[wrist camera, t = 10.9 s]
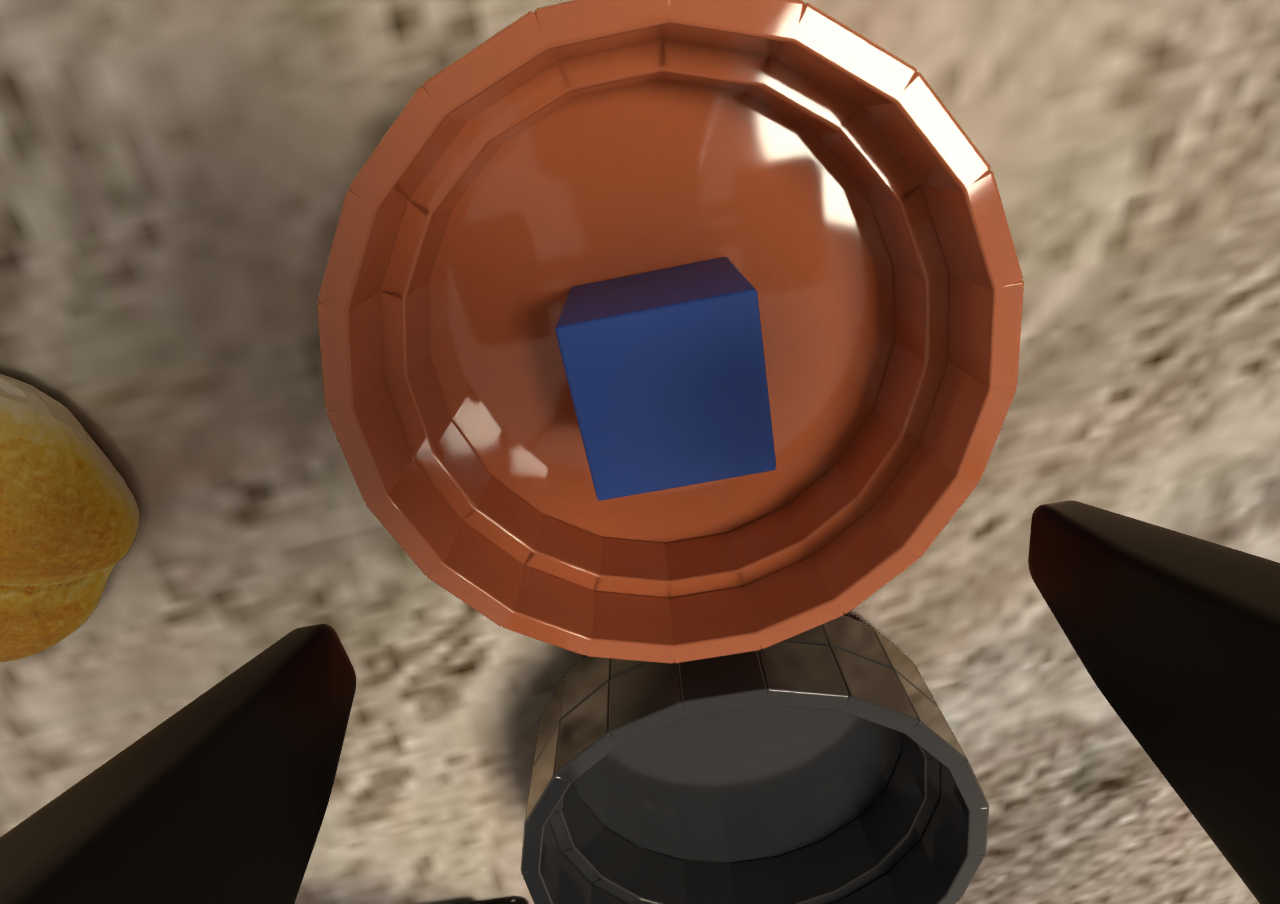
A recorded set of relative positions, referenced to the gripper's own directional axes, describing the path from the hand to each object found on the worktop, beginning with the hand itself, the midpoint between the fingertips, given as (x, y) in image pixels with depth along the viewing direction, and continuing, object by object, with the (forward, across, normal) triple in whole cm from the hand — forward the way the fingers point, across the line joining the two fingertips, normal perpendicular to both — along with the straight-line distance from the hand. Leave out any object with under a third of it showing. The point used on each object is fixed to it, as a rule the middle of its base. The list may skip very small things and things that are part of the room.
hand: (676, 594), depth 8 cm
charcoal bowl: (+10, 0, +15) cm, 18 cm away
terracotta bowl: (+10, 0, 0) cm, 10 cm away
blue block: (+10, 0, 0) cm, 10 cm away
